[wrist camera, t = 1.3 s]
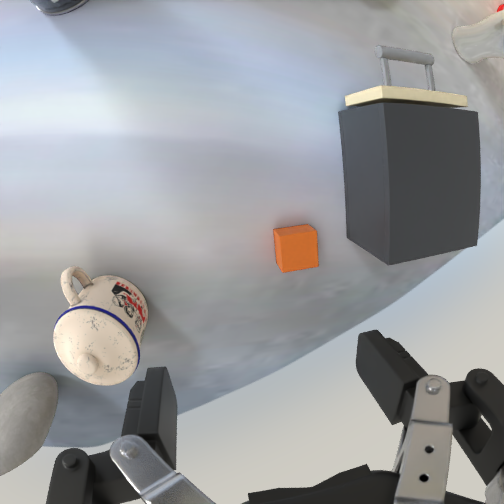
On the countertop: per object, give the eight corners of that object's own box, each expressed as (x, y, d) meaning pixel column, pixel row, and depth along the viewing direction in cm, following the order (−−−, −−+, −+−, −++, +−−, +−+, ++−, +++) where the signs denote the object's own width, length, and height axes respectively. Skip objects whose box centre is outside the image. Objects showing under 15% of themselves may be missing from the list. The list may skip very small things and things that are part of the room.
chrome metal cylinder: (462, 18, 29) (534, -2, 15) (486, 56, 32) (558, 47, 18) (442, 33, 30) (520, 11, 16) (467, 74, 32) (547, 66, 18)
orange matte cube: (273, 229, 35) (279, 236, 32) (307, 224, 36) (317, 230, 33) (276, 263, 37) (282, 273, 34) (310, 257, 37) (318, 266, 34)
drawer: (338, 54, 29) (372, 35, 22) (419, 63, 30) (459, 53, 23) (353, 215, 35) (389, 232, 28) (429, 205, 36) (470, 219, 29)
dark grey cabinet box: (337, 111, 32) (382, 102, 23) (425, 114, 34) (477, 111, 24) (346, 237, 37) (388, 265, 28) (428, 224, 38) (477, 245, 29)
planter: (25, 412, 38) (-11, 495, 21) (-5, 383, 36) (-50, 462, 18) (87, 376, 38) (50, 484, 20) (52, 339, 35) (-6, 441, 18)
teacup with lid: (164, 326, 37) (154, 390, 26) (103, 348, 37) (80, 411, 26) (115, 236, 33) (79, 276, 22) (54, 267, 33) (7, 313, 22)
